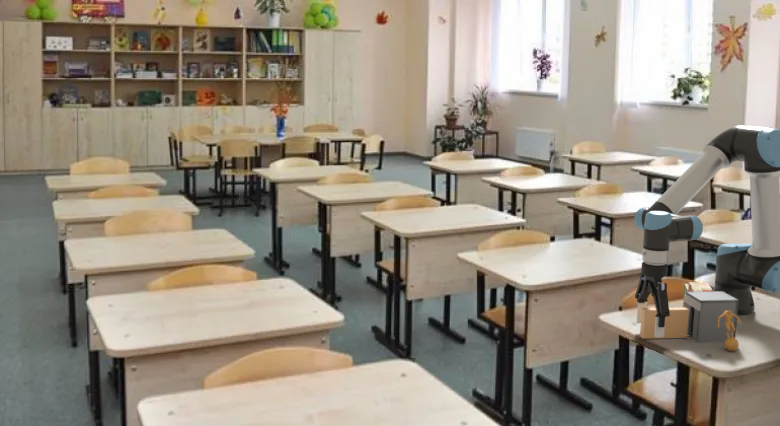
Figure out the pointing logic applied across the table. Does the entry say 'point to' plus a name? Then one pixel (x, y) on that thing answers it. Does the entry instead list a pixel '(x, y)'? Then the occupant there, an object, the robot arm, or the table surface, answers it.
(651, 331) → the light orange rectangular block
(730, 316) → the figurine
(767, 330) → the table surface
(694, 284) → the stack of blocks
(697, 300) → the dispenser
